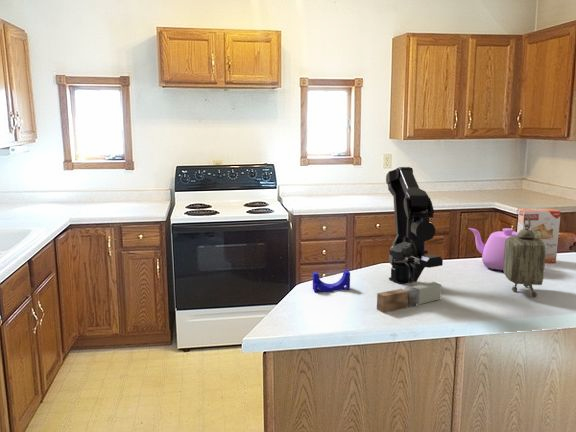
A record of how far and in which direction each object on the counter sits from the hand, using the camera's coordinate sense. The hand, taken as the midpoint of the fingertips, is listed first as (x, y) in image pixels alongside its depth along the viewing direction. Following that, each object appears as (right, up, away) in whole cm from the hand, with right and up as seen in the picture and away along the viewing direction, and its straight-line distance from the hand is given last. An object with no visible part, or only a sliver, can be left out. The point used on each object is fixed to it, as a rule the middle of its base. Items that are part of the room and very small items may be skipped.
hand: (414, 282), depth 164 cm
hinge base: (-7, -6, -10) cm, 14 cm away
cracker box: (+58, +3, +41) cm, 71 cm away
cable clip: (-26, -4, +7) cm, 27 cm away
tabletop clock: (+36, -4, +4) cm, 36 cm away
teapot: (+42, +1, +33) cm, 53 cm away
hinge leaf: (+1, -5, -6) cm, 8 cm away
